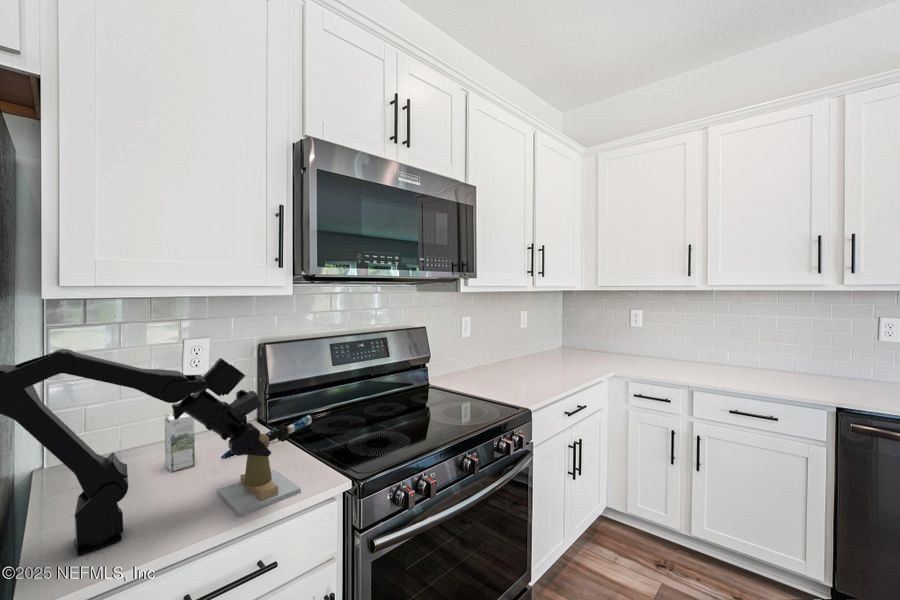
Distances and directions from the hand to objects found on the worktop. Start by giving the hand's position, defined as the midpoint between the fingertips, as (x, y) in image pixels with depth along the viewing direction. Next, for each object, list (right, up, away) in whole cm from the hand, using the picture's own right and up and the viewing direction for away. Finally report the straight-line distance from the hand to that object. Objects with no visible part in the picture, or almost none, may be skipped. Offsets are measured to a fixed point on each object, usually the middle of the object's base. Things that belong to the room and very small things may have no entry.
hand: (264, 448), depth 98 cm
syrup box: (-29, -10, +14) cm, 34 cm away
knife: (-11, -9, +30) cm, 33 cm away
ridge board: (-1, -11, 0) cm, 11 cm away
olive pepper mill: (-1, -8, -1) cm, 8 cm away
